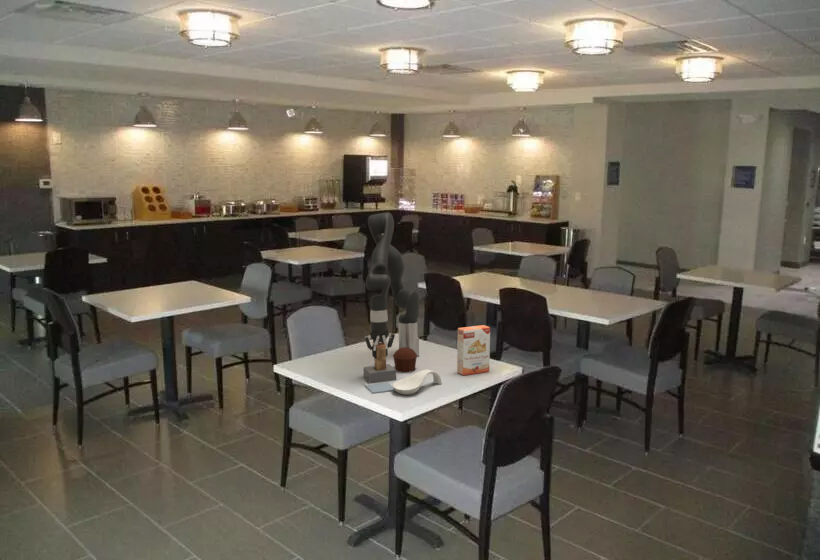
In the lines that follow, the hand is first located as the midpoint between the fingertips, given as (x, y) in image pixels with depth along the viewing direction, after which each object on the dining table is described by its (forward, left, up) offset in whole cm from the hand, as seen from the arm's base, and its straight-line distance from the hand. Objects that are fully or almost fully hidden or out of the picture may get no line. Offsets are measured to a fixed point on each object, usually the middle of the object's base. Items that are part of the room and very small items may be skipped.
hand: (380, 357), depth 287 cm
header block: (0, 0, -10) cm, 10 cm away
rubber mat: (+4, +13, -10) cm, 17 cm away
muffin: (-15, -8, -10) cm, 19 cm away
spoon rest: (-10, +19, -10) cm, 24 cm away
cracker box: (-42, +8, -10) cm, 44 cm away
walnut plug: (0, 0, -6) cm, 6 cm away
